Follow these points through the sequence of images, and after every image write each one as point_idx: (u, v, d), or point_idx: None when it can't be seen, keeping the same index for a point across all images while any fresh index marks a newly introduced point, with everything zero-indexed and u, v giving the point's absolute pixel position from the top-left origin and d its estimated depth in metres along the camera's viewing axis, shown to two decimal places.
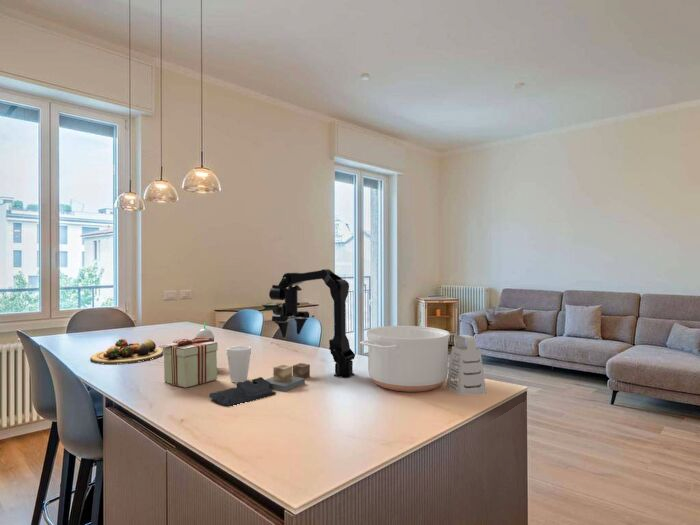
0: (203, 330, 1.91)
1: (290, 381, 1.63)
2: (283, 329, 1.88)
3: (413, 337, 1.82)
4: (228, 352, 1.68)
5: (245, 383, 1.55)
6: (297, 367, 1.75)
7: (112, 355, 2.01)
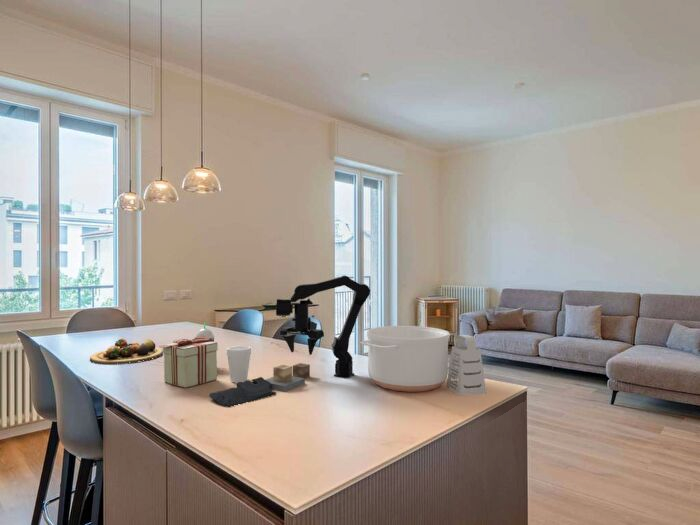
0: (203, 330, 1.91)
1: (290, 381, 1.63)
2: None
3: (413, 337, 1.82)
4: (228, 352, 1.68)
5: (245, 383, 1.55)
6: (297, 367, 1.75)
7: (112, 355, 2.01)
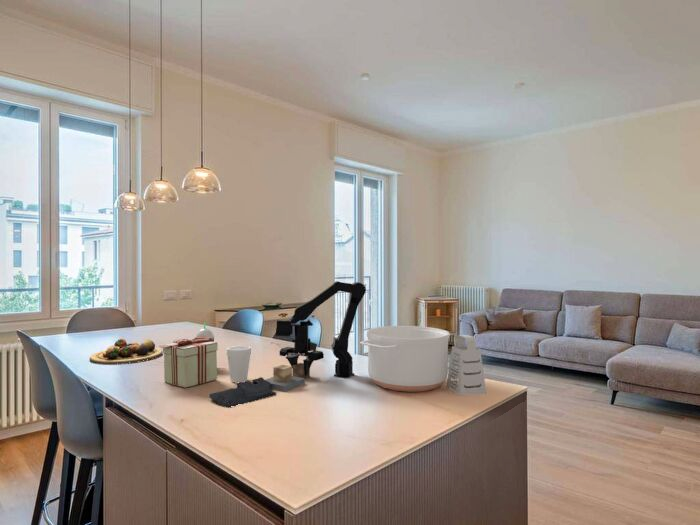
0: (203, 330, 1.91)
1: (290, 381, 1.63)
2: None
3: (413, 337, 1.82)
4: (228, 352, 1.68)
5: (245, 383, 1.54)
6: (297, 367, 1.75)
7: (111, 355, 2.01)
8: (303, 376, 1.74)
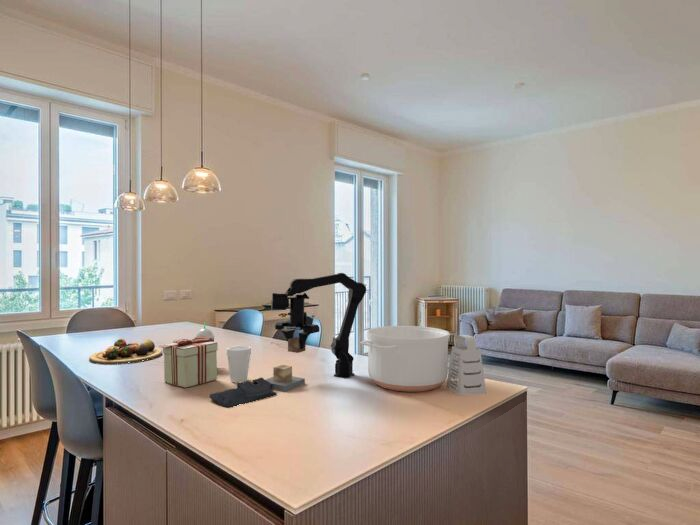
0: (203, 330, 1.91)
1: (290, 381, 1.63)
2: None
3: (413, 337, 1.82)
4: (228, 352, 1.68)
5: (246, 384, 1.54)
6: (292, 340, 1.72)
7: (111, 355, 2.01)
8: (298, 350, 1.72)
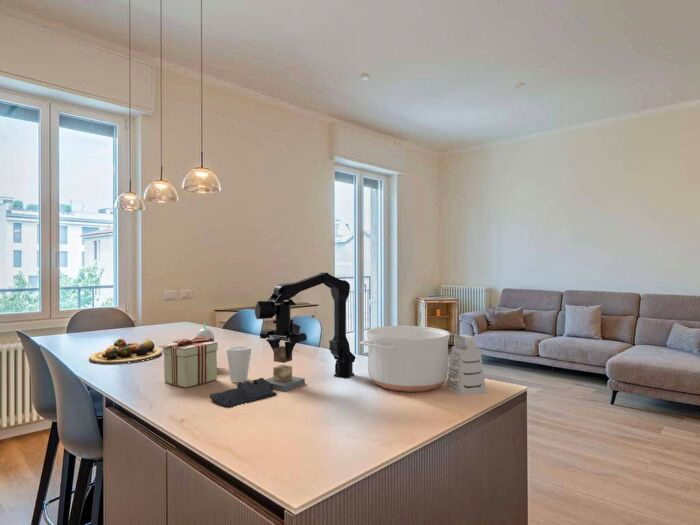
0: (203, 330, 1.91)
1: (290, 381, 1.63)
2: None
3: (413, 337, 1.82)
4: (228, 352, 1.68)
5: (246, 384, 1.54)
6: (278, 350, 1.63)
7: (111, 355, 2.01)
8: (285, 359, 1.63)
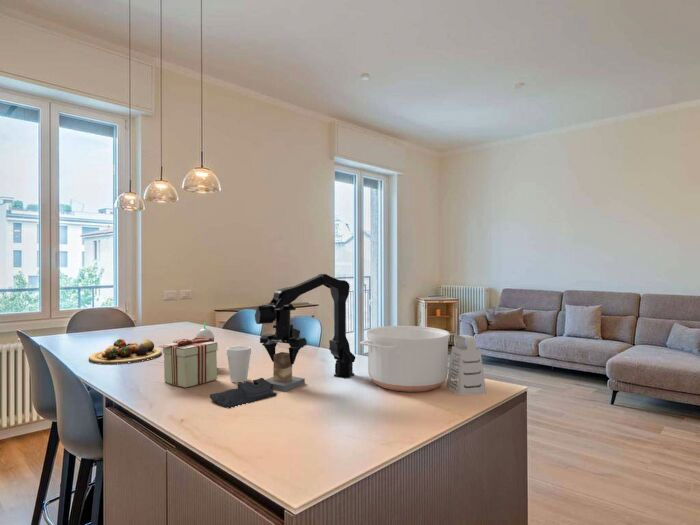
0: (203, 330, 1.91)
1: (290, 381, 1.63)
2: None
3: (413, 337, 1.82)
4: (228, 352, 1.68)
5: (246, 384, 1.54)
6: (278, 356, 1.63)
7: (111, 355, 2.01)
8: (285, 366, 1.63)
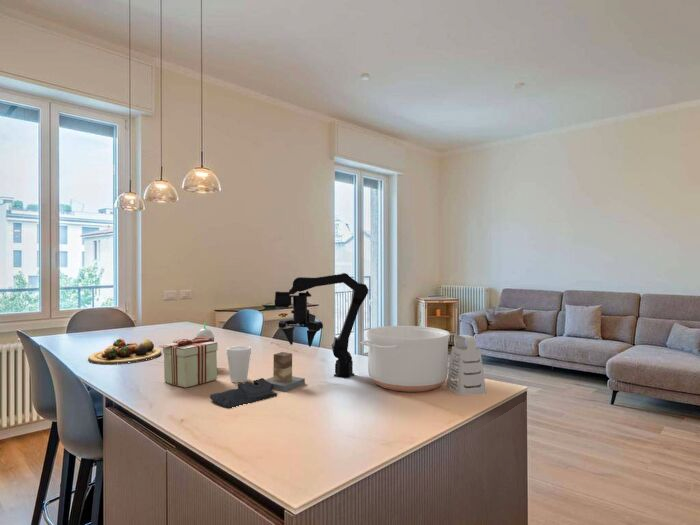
0: (203, 330, 1.91)
1: (290, 381, 1.63)
2: None
3: (413, 337, 1.82)
4: (228, 352, 1.68)
5: (246, 384, 1.53)
6: (278, 356, 1.63)
7: (110, 355, 2.01)
8: (285, 366, 1.63)
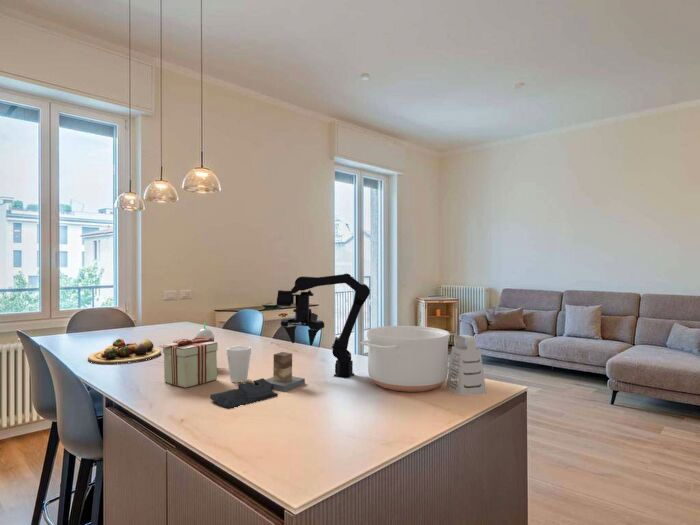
0: (203, 330, 1.91)
1: (290, 381, 1.63)
2: None
3: (413, 337, 1.82)
4: (228, 352, 1.68)
5: (246, 384, 1.53)
6: (278, 356, 1.63)
7: (110, 355, 2.01)
8: (285, 366, 1.63)
